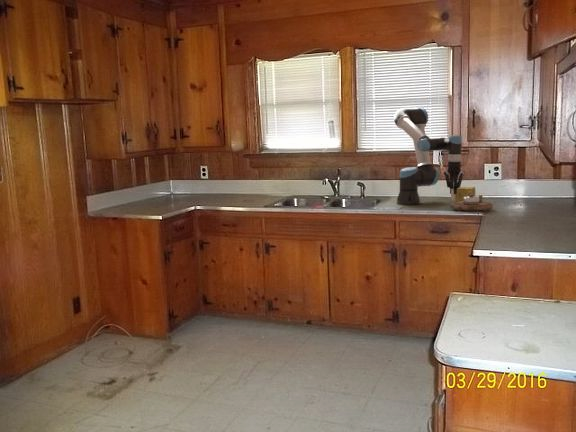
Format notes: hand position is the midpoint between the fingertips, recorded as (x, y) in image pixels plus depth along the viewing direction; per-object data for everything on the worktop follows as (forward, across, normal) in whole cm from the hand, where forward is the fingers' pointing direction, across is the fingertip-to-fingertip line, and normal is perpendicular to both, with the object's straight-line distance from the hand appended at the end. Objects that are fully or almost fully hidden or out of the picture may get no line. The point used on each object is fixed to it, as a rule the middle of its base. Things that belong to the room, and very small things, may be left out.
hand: (453, 199), depth 340 cm
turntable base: (+5, +12, 0) cm, 14 cm away
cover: (+2, +12, 0) cm, 12 cm away
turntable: (+3, +12, 0) cm, 13 cm away
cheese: (+6, -4, +24) cm, 25 cm away
